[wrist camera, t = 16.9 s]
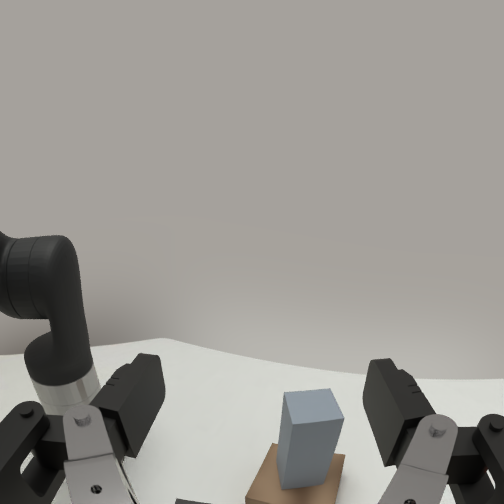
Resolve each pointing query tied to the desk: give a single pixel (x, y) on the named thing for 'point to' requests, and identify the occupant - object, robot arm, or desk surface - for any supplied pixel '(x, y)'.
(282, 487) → the slate pillar
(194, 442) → the desk surface
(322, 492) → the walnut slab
